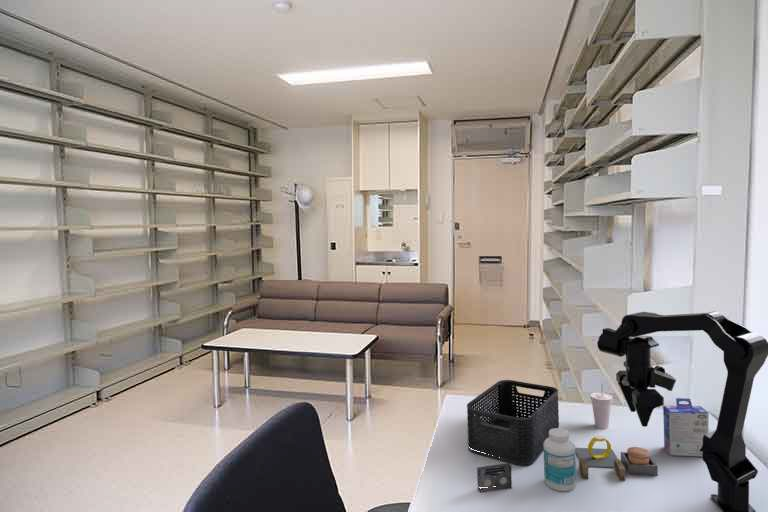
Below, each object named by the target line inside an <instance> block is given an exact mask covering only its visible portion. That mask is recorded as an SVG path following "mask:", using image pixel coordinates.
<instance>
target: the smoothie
mask: <svg viewBox="0 0 768 512" xmlns="http://www.w3.org/2000/svg"><path fill="white" fill-rule="evenodd" d="M600 384H601V388H600V389H601V392H592V393H591V394H590V395H589V396H590V397H589V399H590V400H591V404H592V405H591V406H592V411H593V412H592V413H593V420H594V425H595V428H597V429H602V430H606V429H608V428H609V425H610V417H611V410H612V409H611V408H612V402H613V399H614V398H613V395H611V394H609V393H605V392H604V382H601V383H600Z"/></svg>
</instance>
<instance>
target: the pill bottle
mask: <svg viewBox="0 0 768 512" xmlns="http://www.w3.org/2000/svg"><path fill="white" fill-rule="evenodd" d="M575 448H576V445H575V443H574V442H573V441H572V440H571V439H570V433H569V431H568V430H566V429H563V428H561V427H559V428H554V429H551V430H549V438H547V439H546V440H545V441H544V451H543V467H544V468H543V469H544V471H543V472H544V482H545V484H546V486H547V487H549V488H550V489H552V490H554V491H558V492H569V491H572V490H574V489H575V488H576V486H577V466H576V465H577V464H576V463H577V461H576V458H577V457H576V456H577V455H576V451H575Z"/></svg>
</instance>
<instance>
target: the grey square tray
mask: <svg viewBox="0 0 768 512" xmlns="http://www.w3.org/2000/svg"><path fill="white" fill-rule="evenodd" d="M620 461H621V463H622V465H623V467H624V468H625V472H626V473H627V474H628V475H634V476H652V477H653V476H655V477H657V476H658V475H659V474H658V473H659V472H658V471H659V469H658V467H659V466H658V465H657V463H656V462H655V460H654V459H653V458H652V456H651V455H650V457H649V465H644V464H630V463H629V461H628V453H627V451H621V452H620Z"/></svg>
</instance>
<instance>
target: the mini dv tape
mask: <svg viewBox="0 0 768 512" xmlns="http://www.w3.org/2000/svg"><path fill="white" fill-rule="evenodd" d="M476 473H477V474H476V475H477V477H476V478H477V480H476V481H477V490H478V492H479V494H480V493H487V492H495V491H503V490H504V491H505V490H509V489H510V490H511V489H512V488H513V483H512V465H511V464H510V462H508V463H507V462H506V463H501V464H493V465H485V466H477V467H476ZM478 486H479V487H488V488H481V489H480V488H479V487H478ZM493 486H496V487H493Z"/></svg>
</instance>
